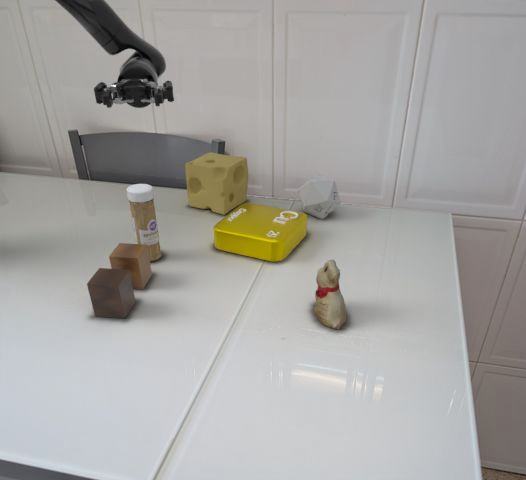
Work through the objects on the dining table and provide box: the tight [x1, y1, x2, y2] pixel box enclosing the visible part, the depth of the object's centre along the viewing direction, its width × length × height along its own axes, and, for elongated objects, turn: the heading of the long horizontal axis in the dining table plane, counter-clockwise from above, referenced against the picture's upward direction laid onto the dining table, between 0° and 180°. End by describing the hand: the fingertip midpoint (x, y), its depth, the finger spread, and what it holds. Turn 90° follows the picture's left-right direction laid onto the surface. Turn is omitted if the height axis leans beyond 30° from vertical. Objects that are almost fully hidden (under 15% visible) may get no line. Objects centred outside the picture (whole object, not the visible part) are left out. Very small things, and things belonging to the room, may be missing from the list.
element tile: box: [213, 202, 308, 263], centre depth 99 cm, size 15×15×5 cm
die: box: [297, 173, 342, 220], centre depth 108 cm, size 8×9×10 cm
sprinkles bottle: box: [126, 183, 163, 262], centre depth 90 cm, size 5×5×13 cm
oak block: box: [108, 242, 153, 290], centre depth 86 cm, size 5×5×6 cm
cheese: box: [184, 151, 249, 216], centre depth 112 cm, size 10×11×10 cm
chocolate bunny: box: [314, 259, 347, 330], centre depth 76 cm, size 6×8×10 cm
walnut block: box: [86, 267, 136, 320], centre depth 79 cm, size 5×5×6 cm
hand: (132, 100), depth 88 cm, fingers open, 8 cm apart
